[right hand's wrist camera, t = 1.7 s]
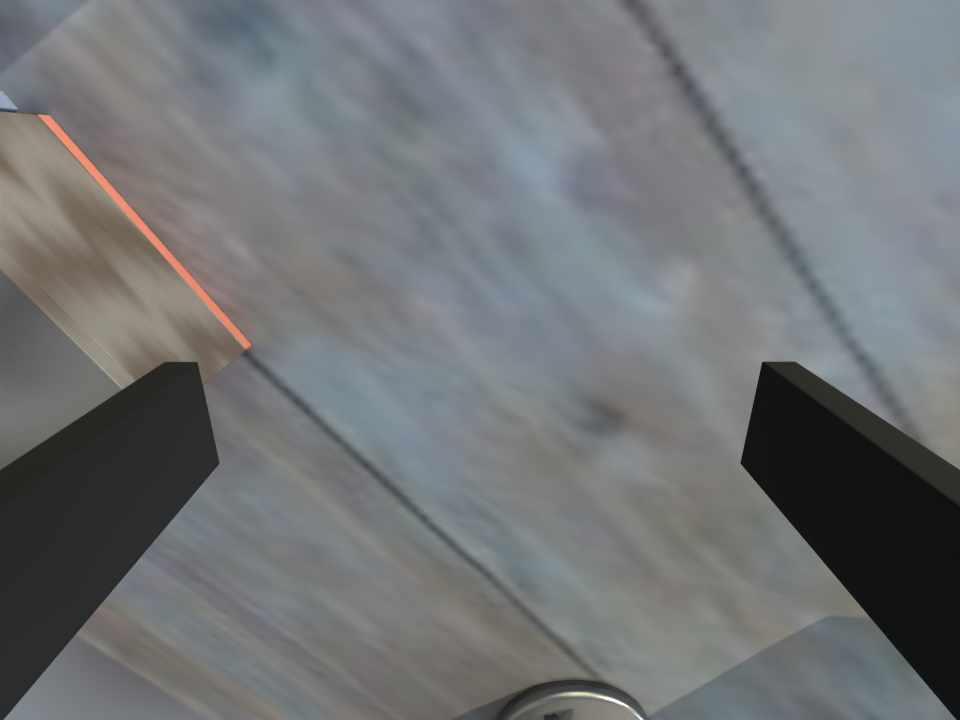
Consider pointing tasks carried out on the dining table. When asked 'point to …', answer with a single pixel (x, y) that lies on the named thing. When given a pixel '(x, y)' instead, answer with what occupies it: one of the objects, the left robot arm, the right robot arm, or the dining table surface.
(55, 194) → the cabinet
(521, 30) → the dining table surface
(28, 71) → the dining table surface
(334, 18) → the dining table surface
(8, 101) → the drawer
